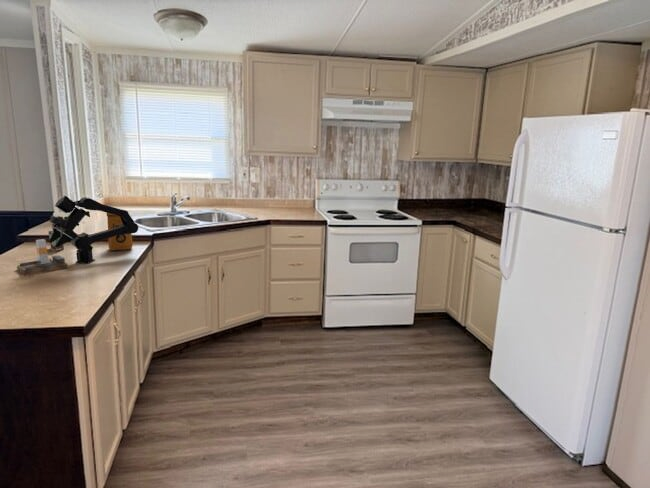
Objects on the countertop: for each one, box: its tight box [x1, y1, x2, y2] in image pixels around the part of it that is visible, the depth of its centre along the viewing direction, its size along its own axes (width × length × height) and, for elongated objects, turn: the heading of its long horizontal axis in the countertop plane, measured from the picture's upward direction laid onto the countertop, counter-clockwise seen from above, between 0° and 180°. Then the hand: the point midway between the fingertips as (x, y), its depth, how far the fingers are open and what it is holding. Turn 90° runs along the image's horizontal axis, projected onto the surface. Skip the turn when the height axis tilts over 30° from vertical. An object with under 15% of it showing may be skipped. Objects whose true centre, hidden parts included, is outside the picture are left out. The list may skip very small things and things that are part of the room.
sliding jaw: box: [35, 238, 51, 265], centre depth 209 cm, size 4×8×12 cm, turn 48°
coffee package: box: [106, 212, 134, 251], centre depth 248 cm, size 10×12×22 cm
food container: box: [48, 230, 65, 253], centre depth 246 cm, size 12×6×10 cm, turn 47°
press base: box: [16, 255, 69, 276], centre depth 210 cm, size 18×12×4 cm, turn 137°
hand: (52, 244), depth 212 cm, fingers open, 9 cm apart
